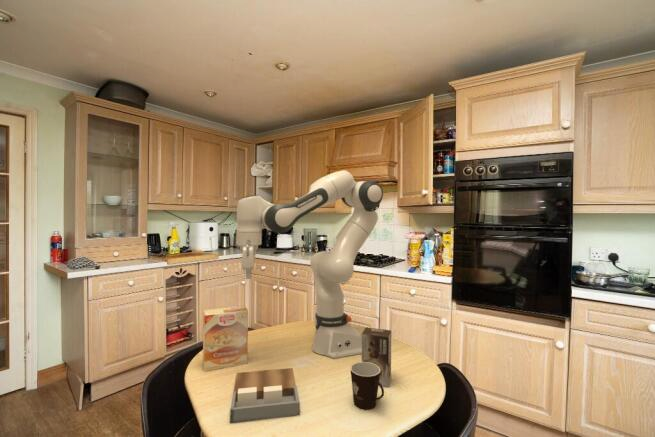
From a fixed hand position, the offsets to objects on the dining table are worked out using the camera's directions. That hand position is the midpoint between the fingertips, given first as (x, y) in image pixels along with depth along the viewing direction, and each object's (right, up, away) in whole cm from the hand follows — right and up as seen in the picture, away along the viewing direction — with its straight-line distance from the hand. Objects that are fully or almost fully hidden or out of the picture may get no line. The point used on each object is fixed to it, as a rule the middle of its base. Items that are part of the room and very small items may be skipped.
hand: (248, 278), depth 114 cm
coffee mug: (+39, -32, -24) cm, 56 cm away
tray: (+11, -32, -26) cm, 42 cm away
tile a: (+13, -28, -26) cm, 40 cm away
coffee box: (+45, -32, -10) cm, 56 cm away
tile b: (+6, -28, -27) cm, 39 cm away
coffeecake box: (-9, -31, +1) cm, 32 cm away
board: (+9, -31, -16) cm, 36 cm away
